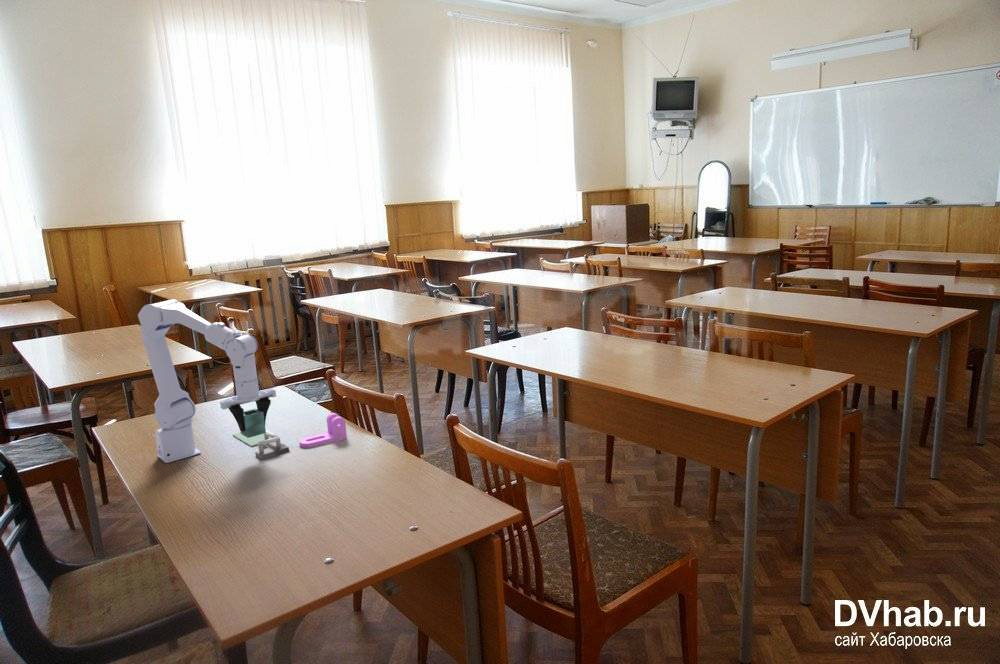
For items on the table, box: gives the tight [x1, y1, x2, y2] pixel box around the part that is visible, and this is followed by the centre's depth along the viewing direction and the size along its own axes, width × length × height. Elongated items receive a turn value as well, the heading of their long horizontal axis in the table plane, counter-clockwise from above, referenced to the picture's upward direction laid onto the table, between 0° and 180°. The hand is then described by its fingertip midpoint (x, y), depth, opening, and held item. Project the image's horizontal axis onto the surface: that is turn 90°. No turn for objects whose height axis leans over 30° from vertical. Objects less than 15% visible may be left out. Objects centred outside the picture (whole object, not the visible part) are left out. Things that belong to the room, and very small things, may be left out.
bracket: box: [299, 412, 348, 449], centre depth 195 cm, size 13×6×7 cm, turn 123°
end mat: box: [232, 431, 271, 448], centre depth 201 cm, size 8×14×1 cm, turn 42°
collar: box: [239, 407, 267, 438], centre depth 182 cm, size 5×5×6 cm
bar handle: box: [255, 429, 290, 460], centre depth 190 cm, size 8×12×4 cm
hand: (252, 427), depth 183 cm, fingers closed on collar, 5 cm apart
